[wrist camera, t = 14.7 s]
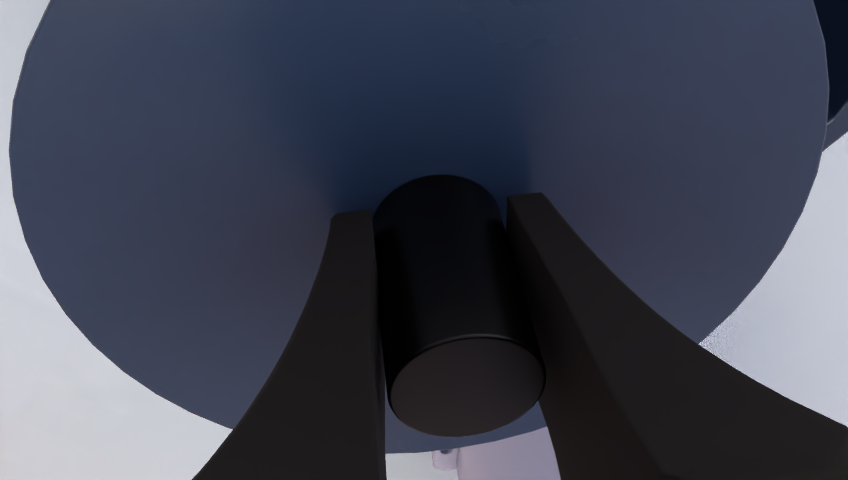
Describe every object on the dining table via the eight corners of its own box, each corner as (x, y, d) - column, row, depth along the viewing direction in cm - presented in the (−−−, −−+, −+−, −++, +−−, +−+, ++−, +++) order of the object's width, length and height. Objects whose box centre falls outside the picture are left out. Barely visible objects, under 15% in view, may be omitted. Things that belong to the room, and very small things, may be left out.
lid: (686, 398, 21) (766, 580, 18) (117, 435, 20) (75, 644, 16) (944, -219, 12) (1232, -103, 8) (-112, -250, 10) (-344, -124, 6)
